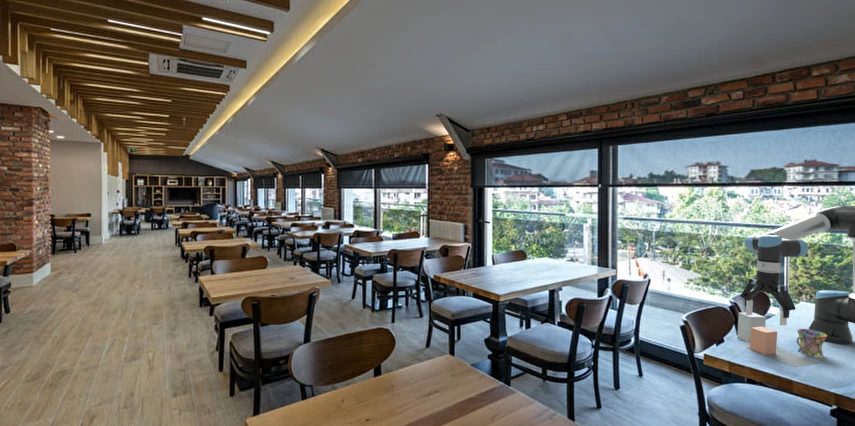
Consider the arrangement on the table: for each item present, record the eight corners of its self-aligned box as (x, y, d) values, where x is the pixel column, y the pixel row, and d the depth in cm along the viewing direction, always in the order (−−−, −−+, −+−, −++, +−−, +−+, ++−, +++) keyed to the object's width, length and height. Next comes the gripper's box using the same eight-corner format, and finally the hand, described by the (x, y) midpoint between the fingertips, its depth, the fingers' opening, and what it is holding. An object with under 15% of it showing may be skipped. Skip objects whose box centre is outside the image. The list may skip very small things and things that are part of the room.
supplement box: (764, 343, 183) (766, 317, 182) (748, 343, 183) (750, 317, 182) (752, 337, 190) (753, 312, 189) (736, 337, 190) (738, 311, 189)
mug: (806, 351, 174) (808, 328, 173) (831, 360, 165) (833, 336, 164) (784, 353, 172) (786, 329, 171) (808, 362, 163) (810, 337, 162)
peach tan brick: (760, 347, 174) (761, 326, 174) (775, 353, 168) (777, 331, 168) (749, 348, 173) (751, 327, 172) (764, 354, 167) (766, 332, 166)
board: (769, 348, 178) (769, 344, 178) (820, 366, 159) (820, 363, 159) (745, 351, 174) (745, 347, 174) (794, 370, 156) (795, 366, 156)
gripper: (732, 265, 179) (729, 311, 181) (795, 278, 155) (792, 330, 157) (744, 265, 181) (742, 310, 183) (809, 277, 157) (805, 328, 159)
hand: (765, 319), depth 170 cm, fingers open, 13 cm apart
